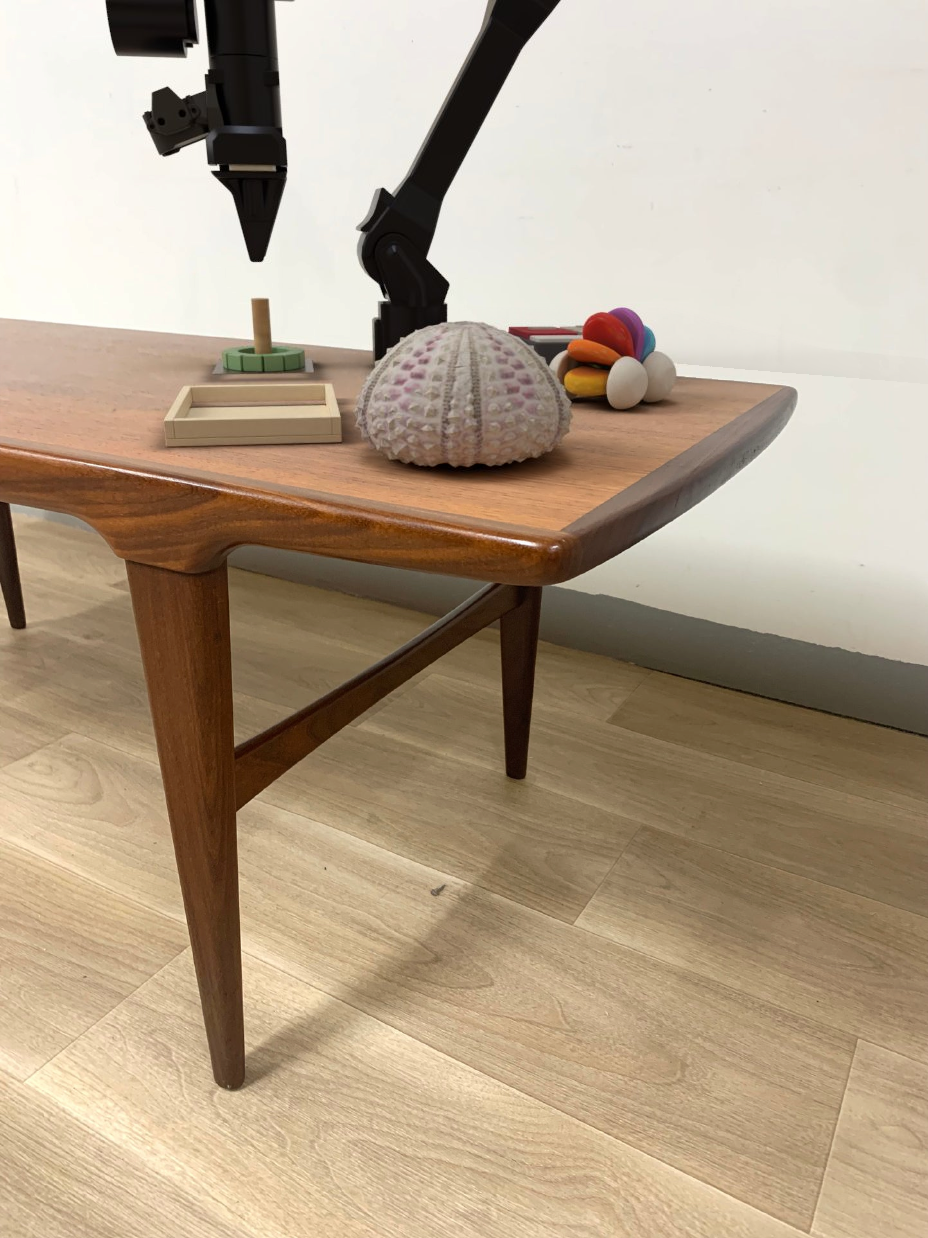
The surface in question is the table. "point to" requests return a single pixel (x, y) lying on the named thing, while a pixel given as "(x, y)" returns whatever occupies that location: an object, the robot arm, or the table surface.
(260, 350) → the peg stand
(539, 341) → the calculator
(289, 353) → the ring
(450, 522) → the table surface
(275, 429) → the tray
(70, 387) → the table surface
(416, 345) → the sea urchin shell
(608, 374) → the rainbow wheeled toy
